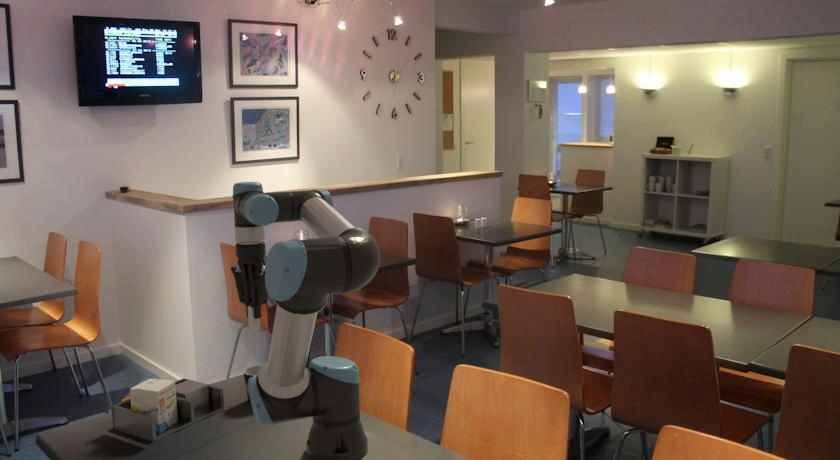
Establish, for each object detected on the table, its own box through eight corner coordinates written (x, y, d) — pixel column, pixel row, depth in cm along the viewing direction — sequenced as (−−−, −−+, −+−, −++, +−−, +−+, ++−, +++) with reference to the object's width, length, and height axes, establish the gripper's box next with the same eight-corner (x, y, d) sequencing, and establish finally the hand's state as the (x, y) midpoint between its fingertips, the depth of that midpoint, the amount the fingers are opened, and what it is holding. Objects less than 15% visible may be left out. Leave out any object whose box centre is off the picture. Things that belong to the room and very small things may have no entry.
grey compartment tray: (224, 412, 206) (222, 386, 205) (153, 444, 186) (151, 416, 185) (184, 400, 215) (183, 376, 214) (112, 431, 195) (110, 403, 194)
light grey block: (209, 408, 207) (207, 384, 206) (186, 418, 200) (185, 394, 199) (189, 403, 211) (188, 379, 210) (167, 412, 204) (165, 388, 203)
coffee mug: (242, 400, 215) (240, 367, 213) (271, 395, 218) (269, 363, 217) (250, 415, 204) (248, 380, 203) (281, 409, 208) (279, 375, 206)
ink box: (159, 434, 190) (156, 391, 189) (131, 431, 193) (128, 388, 191) (179, 421, 199) (176, 379, 197) (152, 418, 201) (149, 377, 199)
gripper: (279, 241, 190) (282, 329, 194) (242, 237, 197) (246, 323, 200) (258, 245, 184) (263, 337, 187) (221, 242, 190) (226, 330, 194)
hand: (254, 329), depth 194 cm, fingers closed
